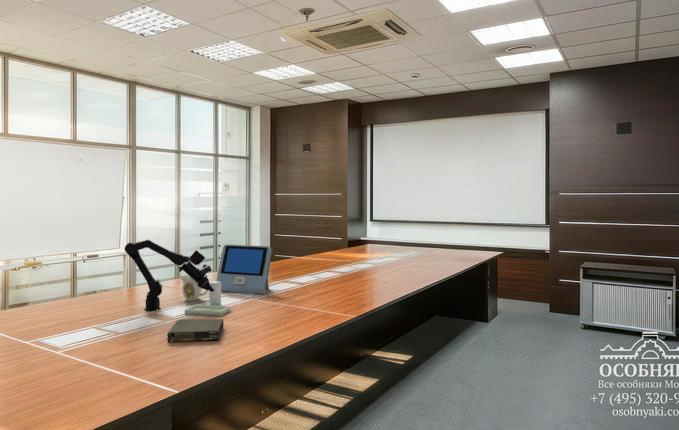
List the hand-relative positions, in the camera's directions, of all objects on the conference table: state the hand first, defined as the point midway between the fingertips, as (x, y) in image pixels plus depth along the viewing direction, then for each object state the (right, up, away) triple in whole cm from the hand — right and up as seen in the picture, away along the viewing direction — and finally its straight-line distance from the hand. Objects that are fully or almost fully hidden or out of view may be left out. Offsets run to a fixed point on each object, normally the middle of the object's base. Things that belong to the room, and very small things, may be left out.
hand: (212, 289), depth 259 cm
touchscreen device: (+10, -8, +43) cm, 45 cm away
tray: (+2, -10, -16) cm, 19 cm away
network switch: (+8, -12, -55) cm, 57 cm away
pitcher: (-16, -9, +14) cm, 23 cm away
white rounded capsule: (+1, -9, +1) cm, 9 cm away
